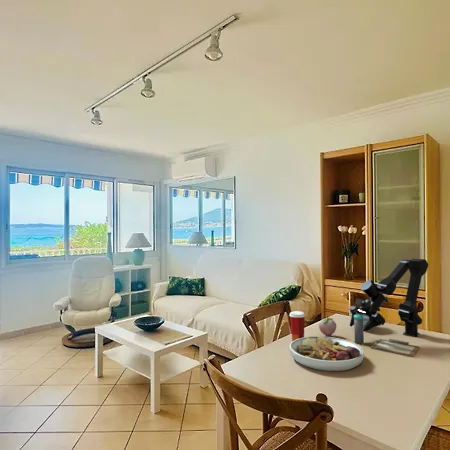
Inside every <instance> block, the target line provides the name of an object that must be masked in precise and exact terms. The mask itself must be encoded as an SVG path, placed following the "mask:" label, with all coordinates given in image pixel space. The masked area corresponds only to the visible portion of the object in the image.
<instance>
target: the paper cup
mask: <svg viewBox="0 0 450 450" xmlns="http://www.w3.org/2000/svg"><path fill="white" fill-rule="evenodd" d="M305 317H306V314H305V313H304V311H301V310H300V311H291V312H290V313H289V318H290V319H289V320H290V331H291V340H292V341H291V342H293V341H294V340H297V339H300V338H304V337H305V323H306V322H305Z"/></svg>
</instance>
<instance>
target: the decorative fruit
mask: <svg viewBox="0 0 450 450" xmlns="http://www.w3.org/2000/svg"><path fill="white" fill-rule="evenodd" d="M318 328H319V331H320V332H321V333H322V334H323V335H324V336H325V337H331V336H333V334H335V332H336V330H337V323H336V321H335V320H334V319H333V318H332V317H328V316H327V317H326V318H323V319H321V320H320V321H319V323H318Z"/></svg>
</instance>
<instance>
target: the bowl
mask: <svg viewBox="0 0 450 450" xmlns="http://www.w3.org/2000/svg"><path fill="white" fill-rule="evenodd" d="M289 353H290V355H291V357H292V358H293V359H294V360H295V361H296V362H297V363H299V364H301V365H303V366H305V367H307V368H310V369H315V370H319V371H324V372H325V371H327V372H341V371H347V370H351V369H355V368H356V367H358V366H360V364H361V363H362V362H363V360H364V357H365V351H364V349H363V347H362V346H360V344H356V343H355V342H353V341H351V340H350V341H349V340H347V339H343V338H338V337H331V336H323V335H321V336H318V335H317V336H316V335H314V336H304V338H300V339H297V340H294V341H293V342H292V341H291V342H290V343H289Z"/></svg>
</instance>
